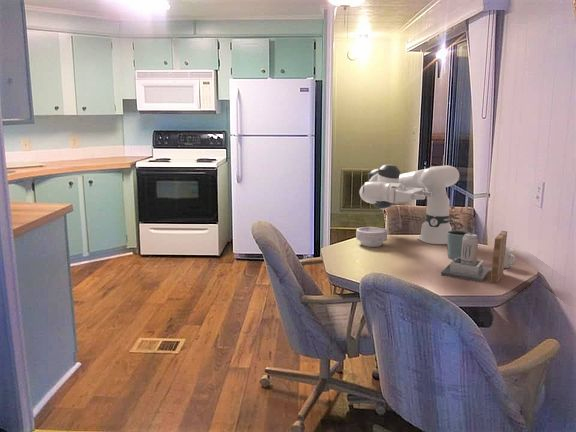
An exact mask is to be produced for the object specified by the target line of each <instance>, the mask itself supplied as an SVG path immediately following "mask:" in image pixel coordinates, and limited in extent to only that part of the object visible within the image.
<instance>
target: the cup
mask: <svg viewBox="0 0 576 432" xmlns="http://www.w3.org/2000/svg"><path fill="white" fill-rule="evenodd" d="M514 252H515V250H514V249H513V248H510V247H507V246H506V249H505V258H504V268H503V269H509V268H510V267H511V266H513V265H515V264H516V263H515V262H516V256H515V255H514Z"/></svg>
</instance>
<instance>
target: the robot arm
mask: <svg viewBox="0 0 576 432" xmlns="http://www.w3.org/2000/svg"><path fill="white" fill-rule="evenodd" d="M367 180H368V181H366V182H365V181H364V184H362V186H361V187H360V188H359V191H358V193H359V196H360V198H361V200H362V201H363V202H366V203H367V204H371V205H373V206H374V207H375V209H378V210H387V209H390V208H391V207H392V206H393V205H394V204H401V203H411V202H412V201H413V202H414V201H416V200H417V201H418V200H423V201H424V200H426V213H425V216H424V222H423V223H421V230H420V235H419V236H417V240H420V241H421V242H422V243H426V244H431V245H448V238H447V232H448V231H452V229H453V228H452V226H451V224H450V220H451V218H450V217H451V214H450V203H451V201H450V198H449V197H448V194H447V189H446V188H448V187H451V186H454V185H455V184H456V183H457V182H458V181H459V180H460V172H459V170H458V169H457V168H456V167H455V166H452V165H437V166H430V167H428V168H424V169H419V170H414V171H408V172H404V173H401V171H400V169H399V168H398V166H396V165H394V164H384V165H381V166H380V167H378V168H375V169H373V170H371V171H370V172H368V173H367Z"/></svg>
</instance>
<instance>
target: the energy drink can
mask: <svg viewBox="0 0 576 432" xmlns="http://www.w3.org/2000/svg"><path fill="white" fill-rule="evenodd" d="M478 244H479V238H478V235H477V234H475V233H471V234H469V233H468V234H465V235H464V237H463V240H462V252H461V263H460V264H466V265H472V266H476V260H478V259H477V256H478V246H479V245H478Z"/></svg>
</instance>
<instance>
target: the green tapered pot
mask: <svg viewBox="0 0 576 432" xmlns="http://www.w3.org/2000/svg"><path fill="white" fill-rule="evenodd" d="M468 233H469V234H472V233H471V232H470V231H466V230H456V229H455V230H454V229H453V230H451V231H448V232H447V238H448V244H447V258H448V259H450V260H451V261H453V260H454V259H455V258H456V257H461V252H462V240H463V237H464V235H465V234H468Z"/></svg>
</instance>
